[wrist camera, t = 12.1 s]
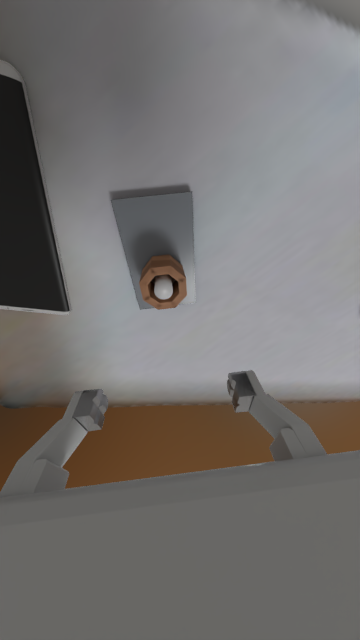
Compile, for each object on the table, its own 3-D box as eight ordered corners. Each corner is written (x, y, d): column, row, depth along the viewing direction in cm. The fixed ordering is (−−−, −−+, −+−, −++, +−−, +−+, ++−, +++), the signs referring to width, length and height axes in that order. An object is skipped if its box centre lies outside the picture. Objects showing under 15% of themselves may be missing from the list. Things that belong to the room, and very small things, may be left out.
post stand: (190, 191, 22) (201, 190, 16) (194, 299, 31) (202, 323, 26) (113, 199, 22) (95, 201, 16) (140, 306, 31) (136, 331, 25)
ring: (181, 253, 25) (185, 264, 21) (184, 290, 28) (187, 306, 24) (139, 257, 24) (135, 269, 20) (147, 294, 28) (145, 311, 24)
